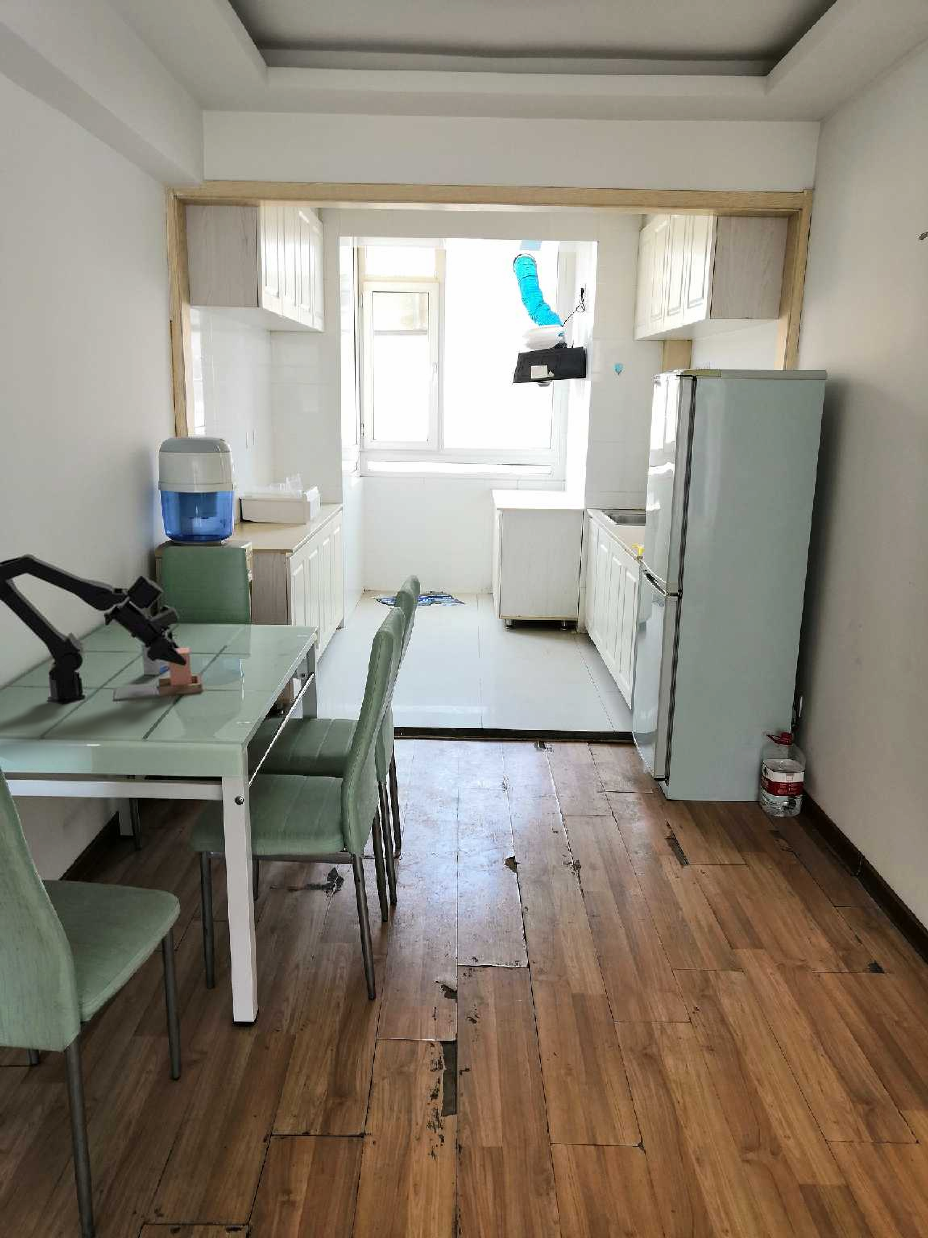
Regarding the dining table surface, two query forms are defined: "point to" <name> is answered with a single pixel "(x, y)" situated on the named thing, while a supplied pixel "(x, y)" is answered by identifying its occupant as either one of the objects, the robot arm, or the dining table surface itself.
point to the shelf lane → (180, 686)
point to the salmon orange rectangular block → (181, 669)
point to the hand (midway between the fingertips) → (185, 661)
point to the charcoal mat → (135, 691)
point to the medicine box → (153, 664)
